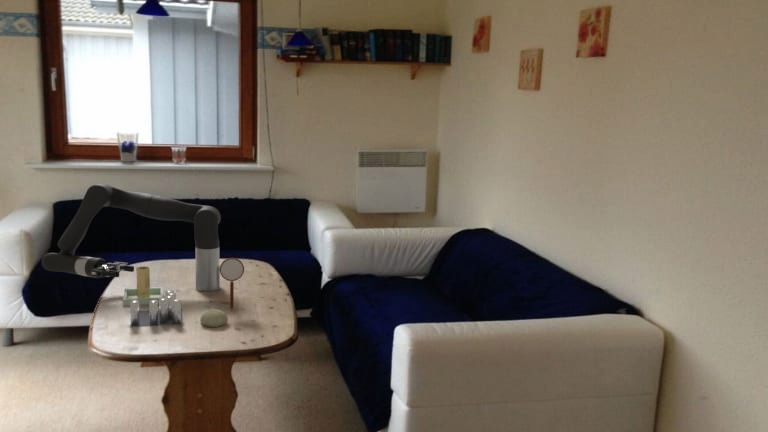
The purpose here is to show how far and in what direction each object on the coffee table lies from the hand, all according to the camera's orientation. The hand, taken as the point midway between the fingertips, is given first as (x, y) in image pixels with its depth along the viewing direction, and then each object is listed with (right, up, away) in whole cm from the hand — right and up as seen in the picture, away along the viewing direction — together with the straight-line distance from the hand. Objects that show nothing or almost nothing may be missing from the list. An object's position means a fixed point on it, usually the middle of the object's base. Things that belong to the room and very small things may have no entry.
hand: (126, 271), depth 262 cm
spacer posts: (+18, -15, -21) cm, 32 cm away
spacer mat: (+18, -15, -20) cm, 31 cm away
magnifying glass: (+41, -14, -7) cm, 44 cm away
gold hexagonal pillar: (+7, -10, -1) cm, 12 cm away
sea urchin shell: (+38, -17, -22) cm, 47 cm away
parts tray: (+7, -11, -1) cm, 13 cm away
